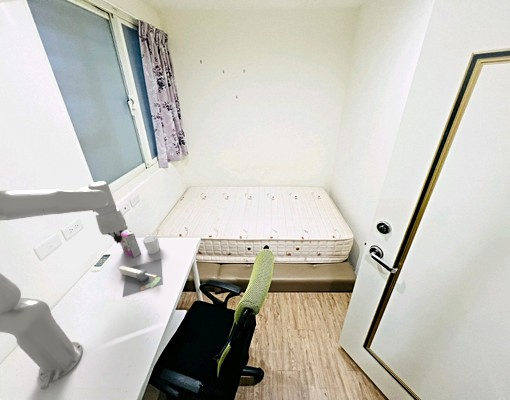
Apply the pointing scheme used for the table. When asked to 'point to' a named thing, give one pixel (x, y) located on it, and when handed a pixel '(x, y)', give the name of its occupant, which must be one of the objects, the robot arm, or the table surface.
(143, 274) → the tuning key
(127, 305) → the table surface
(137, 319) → the table surface
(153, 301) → the table surface
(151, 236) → the white cup
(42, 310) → the robot arm
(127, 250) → the candy bar box
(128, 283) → the tuner board
